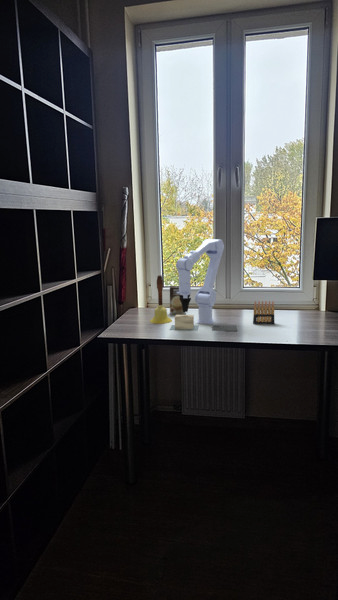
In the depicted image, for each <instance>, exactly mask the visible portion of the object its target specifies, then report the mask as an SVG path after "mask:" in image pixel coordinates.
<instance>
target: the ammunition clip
mask: <svg viewBox="0 0 338 600" xmlns="http://www.w3.org/2000/svg"><path fill="white" fill-rule="evenodd" d="M252 319H253V320H252V324H253V325H275V324H276V322H275V302H274V300H272V301H270V300H268V302H267V300H265V301H264V300H261V302H260V301H259V300H258V302H257V301H256V300H255V301H254V304H253V318H252Z"/></svg>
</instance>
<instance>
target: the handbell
mask: <svg viewBox="0 0 338 600" xmlns="http://www.w3.org/2000/svg"><path fill="white" fill-rule="evenodd" d="M163 289H164V279H163V276H162V274H161V275H160V274H158V275H157V277H156V290H157V299H158V304H157V307H156V308H155V309H154V316H153V317H152V318H151V319H150V320H149V323H151V324H155V325H157V324H158V325H163V324H169V323H172V322H173V320H172V318H170V317H169V316H168V311H167V310H168V309H167V308H166V306H165V307H164V306H163V291H164V290H163Z"/></svg>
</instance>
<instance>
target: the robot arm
mask: <svg viewBox="0 0 338 600" xmlns="http://www.w3.org/2000/svg"><path fill="white" fill-rule="evenodd" d="M224 249H225V244H224V241H223V239H220V238H218V239H214V238H211V239H208V238H205V239H204V240H203V241H202V243H201V245H199V247H198V248H196V250H190V251H189V253H187V254H186V255H184V256H183V257H181V258H178V260H177V261H176V264H175V267H176V269H177V274H178V286H179V292H177V294H181V295H179V297H180V298H179V299H180V301H181V304H182V309H183V312H185V313H188V311H189V305H190V303H191V300H192V298H191V294H192V290H191V271H192V270H193V267H194V265H195V264H196V263H197V262H198V261H200V259H201V256H203V254H206V256H208V257H209V261H208V262H209V263H208V266H207V270H206V273H205V277H204V281H203V285H202V287H200V288H198V290H197V292H196V294H195V296H194V301H195V303H196V304H197V307H198V318H197V324H198V325H199V324H201V325H202V324H205V325H206V324H207V325H213V324H214V318H213V307H214V305H215V303H216V301H217V300H216V297H217V292H216V291H215V289H214V286H215V282H216V277H217V275H218V270H219V267H220V262H221V259H222V256H223V253H224Z"/></svg>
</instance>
